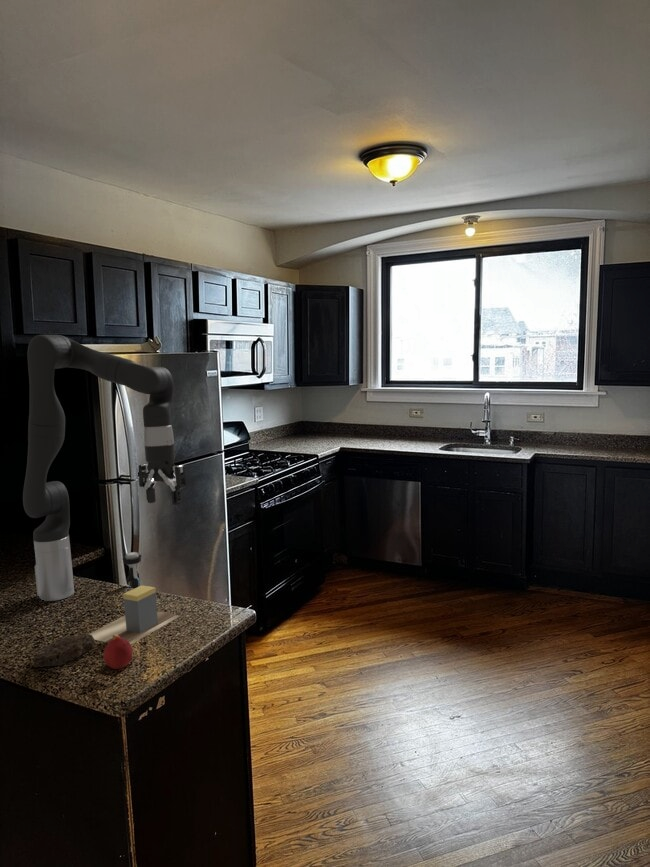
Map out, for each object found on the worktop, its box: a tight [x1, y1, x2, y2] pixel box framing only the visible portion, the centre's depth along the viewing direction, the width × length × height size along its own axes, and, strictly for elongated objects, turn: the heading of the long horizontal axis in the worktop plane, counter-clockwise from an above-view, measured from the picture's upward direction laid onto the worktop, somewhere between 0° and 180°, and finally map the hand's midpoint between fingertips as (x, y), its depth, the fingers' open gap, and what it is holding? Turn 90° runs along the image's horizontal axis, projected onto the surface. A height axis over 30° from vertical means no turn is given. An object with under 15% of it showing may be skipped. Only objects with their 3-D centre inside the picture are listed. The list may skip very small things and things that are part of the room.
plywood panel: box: [88, 611, 181, 645], centre depth 144 cm, size 14×18×1 cm
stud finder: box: [122, 584, 158, 633], centre depth 142 cm, size 4×6×9 cm
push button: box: [122, 551, 142, 589], centre depth 176 cm, size 7×5×10 cm
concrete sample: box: [31, 632, 95, 668], centre depth 131 cm, size 12×10×5 cm
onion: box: [102, 634, 133, 670], centre depth 124 cm, size 6×6×8 cm
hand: (164, 503), depth 156 cm, fingers open, 8 cm apart
